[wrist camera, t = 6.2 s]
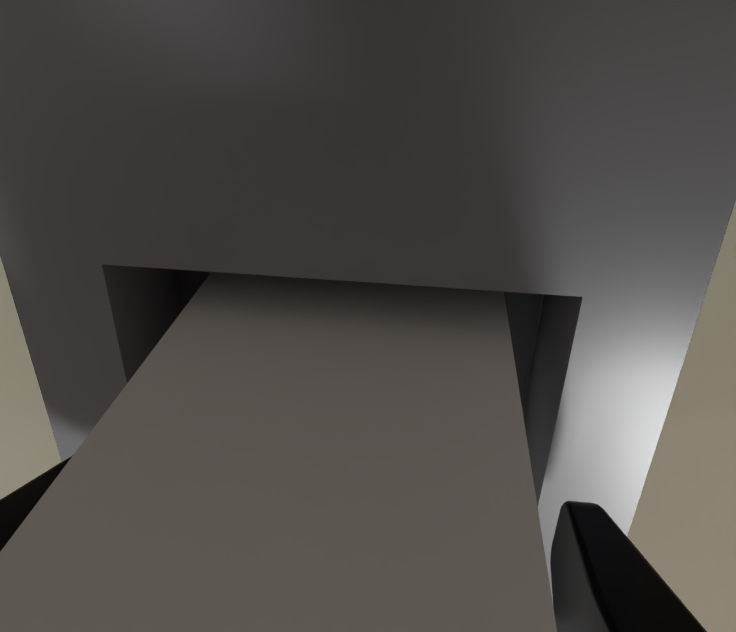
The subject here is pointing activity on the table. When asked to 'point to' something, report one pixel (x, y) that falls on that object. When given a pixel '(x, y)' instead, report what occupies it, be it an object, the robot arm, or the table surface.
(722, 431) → the table surface
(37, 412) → the table surface
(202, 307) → the plug
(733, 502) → the table surface
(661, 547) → the table surface
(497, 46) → the pdu strip
